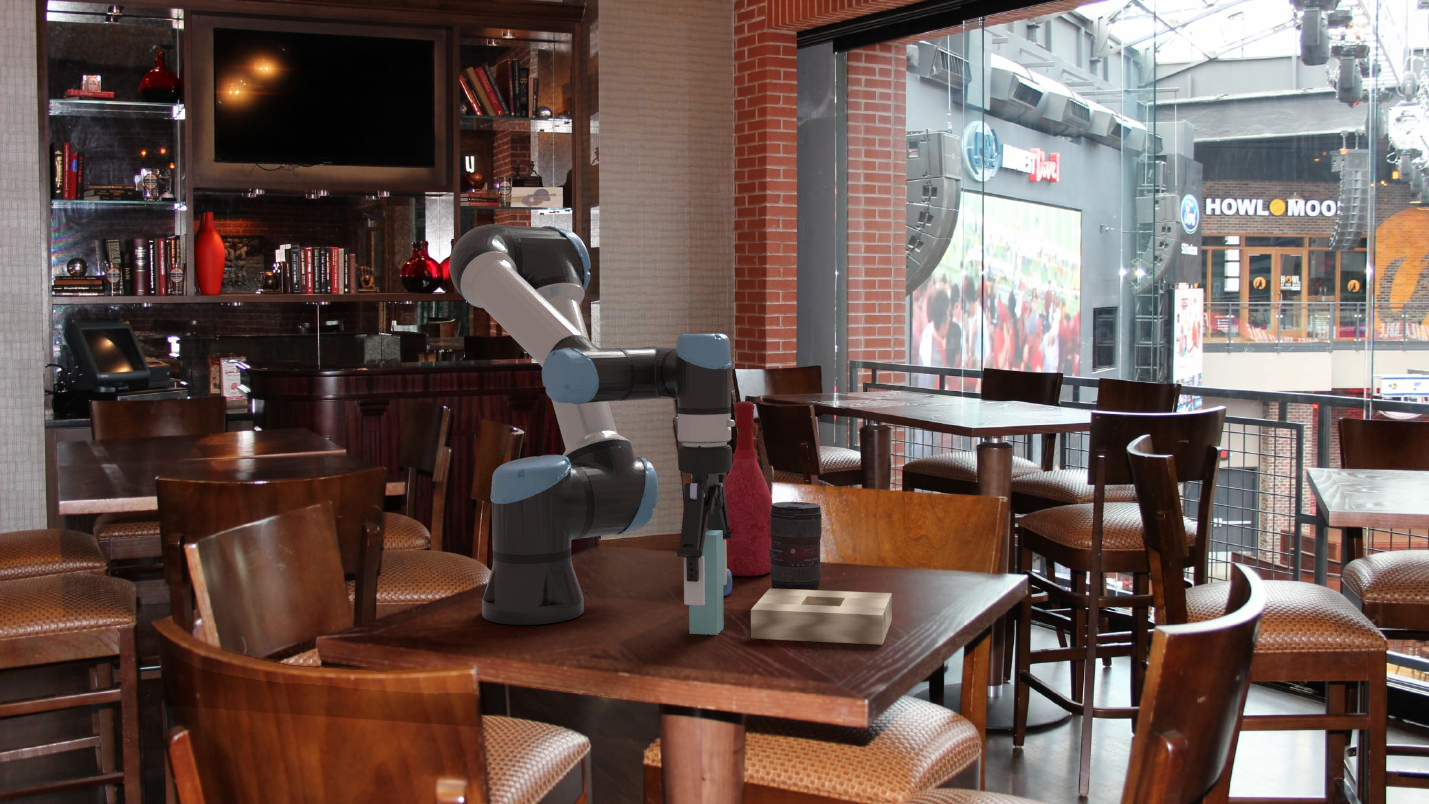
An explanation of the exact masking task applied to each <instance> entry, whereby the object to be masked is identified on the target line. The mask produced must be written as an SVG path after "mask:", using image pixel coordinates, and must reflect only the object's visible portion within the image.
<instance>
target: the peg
mask: <svg viewBox="0 0 1429 804" xmlns="http://www.w3.org/2000/svg"><path fill="white" fill-rule="evenodd" d="M702 557H704V562H705V605H688V608H689V609H688V611H689V613H688V621H689V622H688V623H689V624H688V625H689V627H688V631H689V634H690V635H693V634H694V635H708V634H709V635H710V636H718V635H719V634H720V633H721V631H723V630H724V627H725V626H724V622H725V621H724V596H723V531H721V530H708V529H706V534H705V540H704V546H703V554H702ZM718 633H719V634H718Z"/></svg>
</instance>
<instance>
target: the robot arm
mask: <svg viewBox="0 0 1429 804" xmlns="http://www.w3.org/2000/svg"><path fill="white" fill-rule="evenodd" d="M448 263H449V264H448V266H449V267H448V269H449V274H450V278H451V281H452V283H453V286H454V288H455V289H456V290H457V292H458V293H459V295H461V297H463V298H464V300H466V302H468V304H470V305H471V306H473V307H476V308H480V309H484V310H485V312H487V313H488V314H489V315H490V317H492V318H493V320H494V321H495V322H497V323H498V324H499V326H501V327H502V328H503V329H504V331H505V332H507V334H508V335H510V337H512V339H513V340H514V341H516V342H517V344H519V346H520V347H522V349H523V350H525V351H526V352H527V353H528V355H530V356H531V358H533V360H535V361H536V362H537V364H538V365H539V366H540V367H541V368H542V369H541V380H542V386H543V387H544V388H545V393H546V395H547V396H548V398H550V400H551V402H552V405H553V409H554V413H555V415H556V420H557V424H558V425H559V426H558V427H559V430H560V433H561V437H562V440H563V444H564V448H565V451H564V452H563V454H562V455H561V454H544V455H539V456H528V457H522V458H519V459H514V460H510V461H508V462H505V463H503V464H501V465H499V466H498V467H497V468H496V469H495V470H494V471H493V473H492V476H491V477H492V478H491V487H490V488H491V489H490V490H491V491H490V496H489V497H490V501H491V527H492V528H491V531H492V532H491V533H492V567H491V571H490V573H489V577H488V581H487V584H486V587H485V591H484V595H483V596H482V600H481V614H482V615H481V616H482V618H483V619H485V620H486V621H489V622H492V623H497V624H502V625H504V624H505V625H512V626H513V625H518V626H527V625H528V626H530V625H545V624H554V623H561V622H564V621H565V622H566V621H569V620H573V619H577V618H578V617H580V616H581V615H582V614H584V611H585V604H584V603H585V602H584V595H583V592H582V589H581V586H580V584H579V580H578V577H577V575H576V571H575V569H574V566H573V561H572V540H579V539H586V538H594V537H600V536H608V535H618V536H619V535H623V534H625V533H629V532H634V531H637V530H640V529H642V528H644V527H645V526H646V525H648V523H649V522H650V521H651V519H652V517H653V515H654V514H655V511H656V505H657V503H658V500H659V481H658V476H657V475H658V474H657V472H656V469H655V467H654V465H653V464H652V463H651V462H650V461H648V459H647V458H645V457H642V456H638V455H637V456H636V455H635V454H634V450H633V447H632V446H633V445H632V444H631V441H630V439H628V438H626V437H624V436H622V435H621V434H619V433H618V430H617V427H616V424H615V420H614V417H613V413H612V410H611V407H610V404H609V403H610V402H623V401H628V402H629V401H644V400H645V401H646V400H647V401H648V400H676V401H677V440H678V442H679V443H681V445H679V447H677V458H678V459H677V465H678V466H677V468H678V471H679V472H681V473H684V474H690V475H691V476H692V478H691V482H690V483H689V482H685V484H684V488H683V489H684V503H683V512H682V521H681V529H680V540H679V541H680V542H679V548H678V550H677V552H676V554H677V555H676V556H677V558H683V596H684V597H683V604H684V605H687V606H689V605H705V562H704V557H702V554H703V546H704V540H705V534H706V530H721V531H723V585H726V584H727V553H726V540H724V539H731V538H732V532H729V530H730V527H729V519H728V511H727V503H726V495H725V487H724V483H725V479H726V478H725V473H729V471H730V470H731V468H732V463H733V457H732V455H733V453H732V452H733V451H732V447H731V445H730V444H727V443H728V442H730V441H731V440H732V428H733V427H736V425H735V424H736V420H734V419H731V418H732V413H731V412H732V366H733V361H732V354H731V353H732V352H731V341H730V339H729V337H728V336H727V335H726V334H724V333H682V334H680V335H678V337H677V338H676V347H665V346H664V347H661V346H654V345H653V346H642V347H622V348H621V347H615V348H612V347H611V348H610V347H607V348H606V347H605V348H601V347H598V346H597V345H596V344H594V343H593V342H592V341H591V340H590V338H589V337H590V336H589V334H588V331H587V327H586V323H585V321H584V317H583V314H582V311H581V307H580V305H581V303H582V302H583V300H584V298H585V295H586V294H585V291H586V289H587V288H588V285H589V283H590V279H591V273H590V271H589V270H590V269H591V268H592V267H591V259H590V255H589V252H588V249H587V248H586V245H585V243H584V241H583V240H582V239H581V238H580V237H579V236H578V235H577V234H576V233H575V232H573V231H571V230H568V229H565V228H557V227H555V226H551V225H545V226H527V225H525V226H523V225H511V224H510V225H508V224H507V225H506V224H498V223H497V224H495V223H494V224H493V223H489V224H483V225H479V226H477V227H473V228H472V229H470V230H468V231H467V232H466V233H464V234H463V235H462V236H461V237H460V238H459V239H458V240H457V242H456V243H455V245H454V247H453V249H452V252H451V254H450V257H449V262H448Z"/></svg>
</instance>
